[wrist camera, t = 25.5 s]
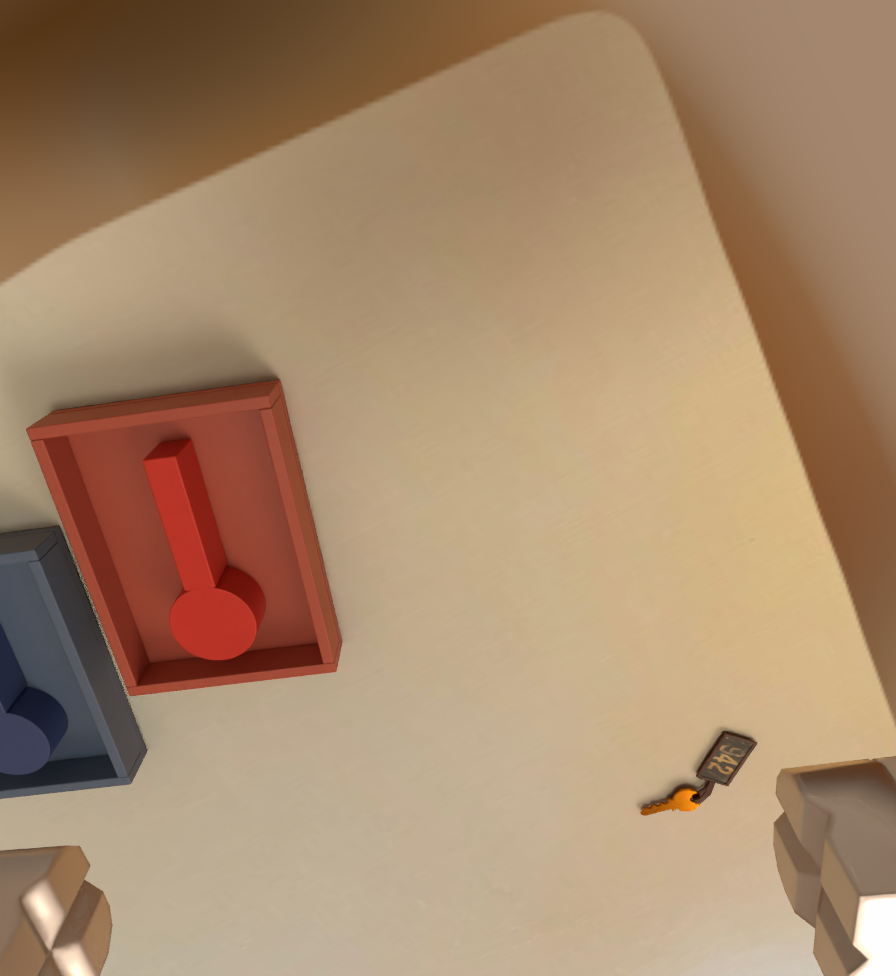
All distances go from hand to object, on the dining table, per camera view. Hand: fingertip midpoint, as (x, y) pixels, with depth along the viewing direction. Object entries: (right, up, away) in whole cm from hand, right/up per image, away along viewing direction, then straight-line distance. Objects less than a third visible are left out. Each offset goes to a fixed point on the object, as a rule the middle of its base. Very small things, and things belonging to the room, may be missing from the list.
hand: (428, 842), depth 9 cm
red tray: (-12, +2, +30) cm, 32 cm away
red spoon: (-12, +2, +29) cm, 32 cm away
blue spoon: (-24, -5, +32) cm, 41 cm away
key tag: (+15, -13, +37) cm, 42 cm away
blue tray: (-24, -5, +33) cm, 41 cm away
